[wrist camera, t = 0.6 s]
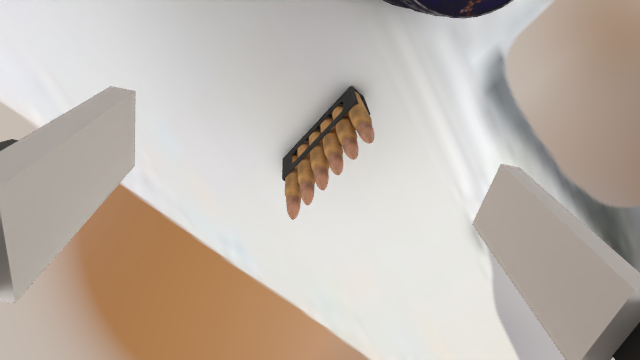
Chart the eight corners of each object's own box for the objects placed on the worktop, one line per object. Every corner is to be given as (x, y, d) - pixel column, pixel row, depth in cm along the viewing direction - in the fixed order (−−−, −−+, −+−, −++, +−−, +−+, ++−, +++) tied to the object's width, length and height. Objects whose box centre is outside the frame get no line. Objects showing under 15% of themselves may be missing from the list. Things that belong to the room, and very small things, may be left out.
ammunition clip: (351, 85, 39) (371, 124, 28) (364, 97, 40) (388, 140, 29) (282, 159, 42) (276, 220, 32) (295, 169, 43) (294, 232, 32)
